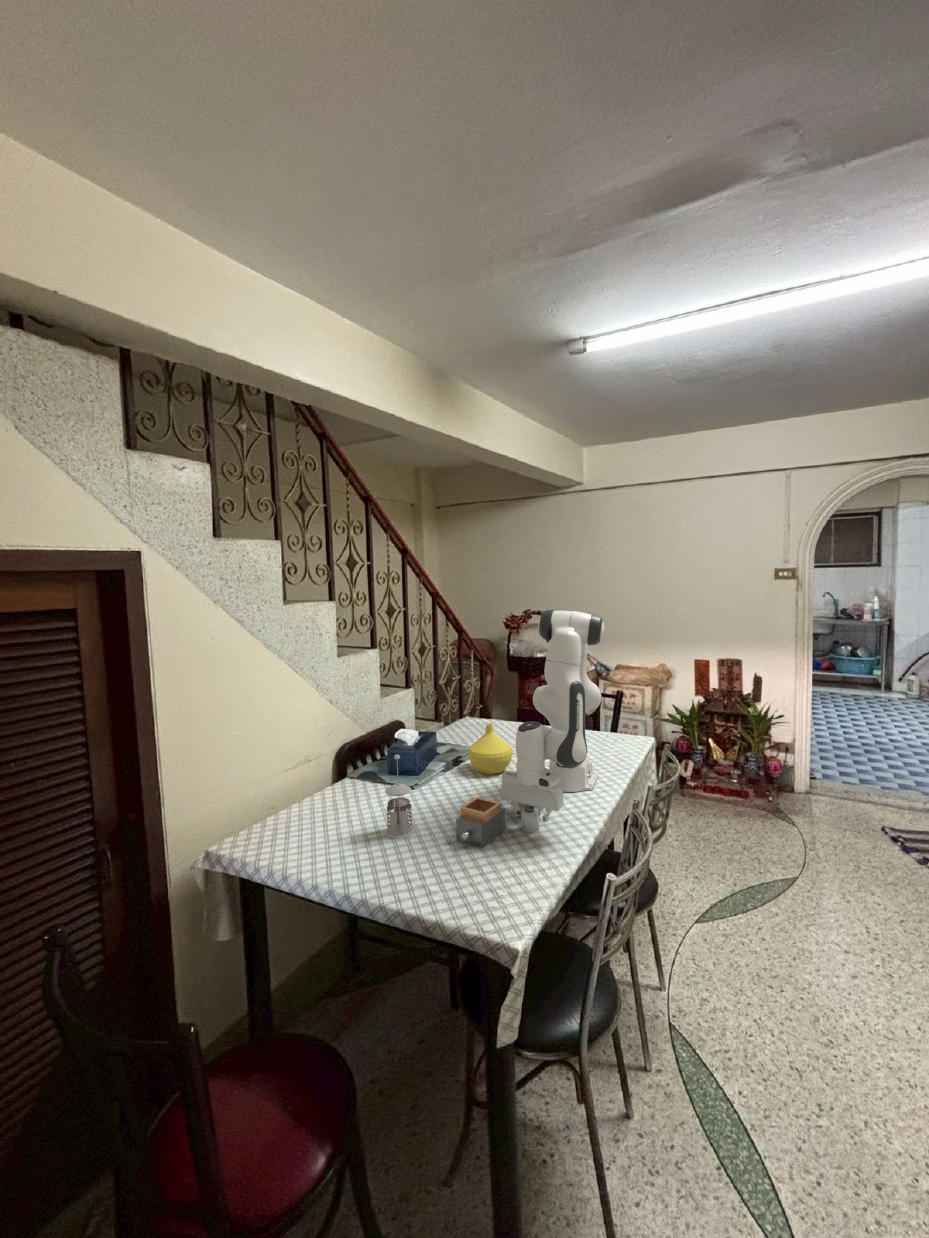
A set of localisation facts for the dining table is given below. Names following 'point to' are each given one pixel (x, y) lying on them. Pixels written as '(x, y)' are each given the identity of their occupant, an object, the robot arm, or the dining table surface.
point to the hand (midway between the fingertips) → (532, 818)
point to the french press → (399, 811)
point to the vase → (490, 753)
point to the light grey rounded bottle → (529, 819)
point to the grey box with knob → (480, 822)
